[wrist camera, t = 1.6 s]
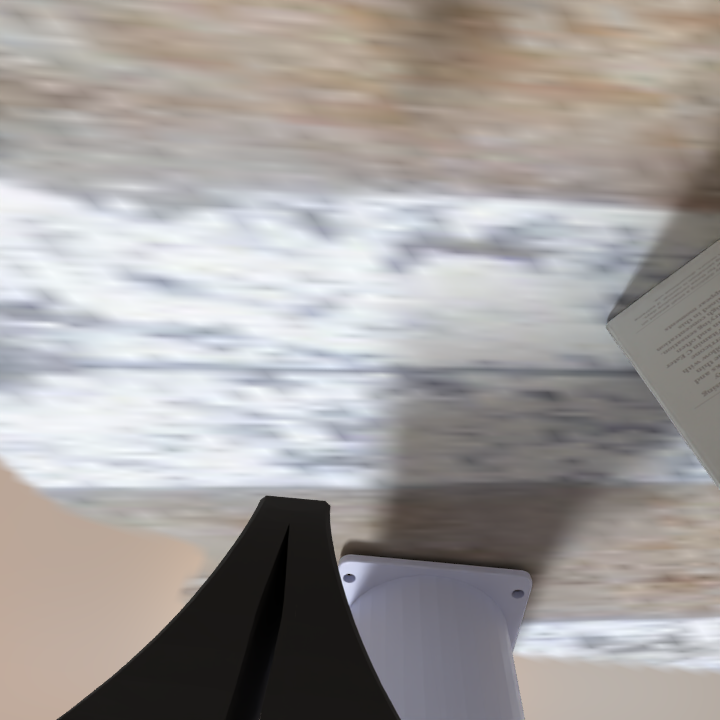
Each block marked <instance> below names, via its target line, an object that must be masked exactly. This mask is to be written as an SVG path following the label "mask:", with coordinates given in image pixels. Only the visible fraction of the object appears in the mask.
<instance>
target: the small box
mask: <svg viewBox="0 0 720 720" xmlns="http://www.w3.org/2000/svg"><path fill="white" fill-rule="evenodd" d="M606 328H607V330H608V331H609V333H610V334H611V336H612V337H613V339H614V340H615V342H616V343H617V344H618V346H619V347H620V348H621V350H622V351H623V353H624V354H625V355H626V357H627V358H628V359H629V361H630V362H631V364H632V365H633V367H634V368H635V369H636V371H637V372H638V374H639V375H640V377H641V378H642V379H643V381H644V382H645V384H646V385H647V386H648V388H649V389H650V391H651V392H652V394H653V395H654V396H655V398H656V399H657V401H658V402H659V404H660V405H661V407H662V408H663V409H664V411H665V412H666V414H667V415H668V417H669V418H670V420H671V421H672V423H673V424H674V426H675V427H676V429H677V430H678V432H679V433H680V435H681V436H682V438H683V439H684V441H685V442H686V443H687V445H688V446H689V448H690V449H691V450H692V452H693V453H694V455H695V456H696V457H697V459H698V460H699V462H700V463H701V465H702V466H703V467H704V469H705V470H706V472H707V473H708V474H709V476H710V477H711V479H712V480H713V482H714V483H715V484H716V486H717V487H718V489H719V490H720V239H719V240H718V241H717V242H715V243H714V244H713V245H711V246H710V247H709V248H707V249H706V250H705V251H703V252H702V253H701V254H699V255H698V256H697V257H695V258H694V259H692V260H691V261H690V262H688V263H687V264H686V265H684V266H683V267H682V268H680V269H679V270H677V271H676V272H675V273H673V274H672V275H671V276H669V277H668V278H666V279H665V280H663V281H662V282H661V283H659V284H658V285H657V286H656V287H654V288H653V289H652V290H650V291H649V292H647V293H646V294H645V295H643V296H642V297H641V298H639V299H638V300H637V301H635V302H634V303H633V304H632V305H630V306H629V307H628V308H626V309H625V310H624V311H622V312H621V313H620V314H618V315H617V316H616V317H614V318H613V319H612V320H610V321H609V322H608V323H607V325H606Z"/></svg>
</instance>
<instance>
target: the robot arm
mask: <svg viewBox="0 0 720 720" xmlns="http://www.w3.org/2000/svg"><path fill="white" fill-rule="evenodd" d="M346 574H353V575H351V576H349V575H346ZM531 588H532V579H531V576H530V574H529V573H528V572H526V571H523V570H514V569H503V568H492V567H482V566H471V565H460V564H450V563H439V562H428V561H417V560H407V559H396V558H385V557H375V556H364V555H353V554H349V555H345V556H343V557H341V558H340V560H339V565H337V561H336V557H335V552H334V547H333V541H332V535H331V527H330V505H329V504H328V503H327V502H326V501H318V500H308V499H297V498H286V497H276V496H265V497H264V498H262V499H261V500H260V502H259V504H258V506H257V508H256V510H255V512H254V514H253V515H252V517H251V519H250V520H249V522H248V524H247V525H246V527H245V528H244V530H243V531H242V533H241V534H240V536H239V537H238V539H237V540H236V542H235V543H234V545H233V546H232V547H231V549H230V550H229V551H228V553H227V554H226V556H225V557H224V558H223V560H222V561H221V562H220V564H219V565H218V567H217V568H216V569H215V570H214V572H213V573H212V574H211V575H210V577H209V578H208V579H207V580H206V581H205V583H204V584H203V585H202V586H201V588H200V589H199V590H198V591H197V592H196V594H195V595H194V596H193V597H192V598H191V600H190V601H189V602H188V603H187V604H186V605H185V606H184V607H183V609H182V610H181V611H180V612H179V613H178V614H177V615H176V616H175V617H174V618H173V619H172V620H171V622H169V624H168V625H167V626H166V627H165V628H164V629H163V630H162V631H161V632H160V633H159V634H158V635H157V636H156V637H155V638H154V639H153V640H152V641H150V642H149V643H148V644H147V645H146V646H145V647H144V648H143V649H142V650H141V651H140V652H139V653H138V654H137V655H136V656H134V657H133V658H132V659H131V660H130V661H129V662H128V663H127V664H126V665H125V666H123V667H122V668H121V669H120V670H119V671H118V672H117V673H115V674H114V675H113V676H112V677H111V678H109V679H108V680H107V681H106V682H104V683H103V684H102V685H101V686H99V687H98V688H97V689H96V690H94V691H93V692H92V693H91V694H89V695H88V696H87V697H86V698H84V699H83V700H82V701H81V702H79V703H78V704H77V705H76V706H74V707H73V708H72V709H71V710H69V711H68V712H66V713H65V714H64V715H62V716H61V717H60V718H58V719H57V720H525V717H524V712H523V707H522V702H521V696H520V691H519V686H518V681H517V675H516V670H515V665H514V659H513V654H512V653H513V649H514V646H515V643H516V639H517V636H518V632H519V629H520V626H521V622H522V619H523V616H524V612H525V609H526V605H527V602H528V599H529V595H530V592H531ZM515 590H519V591H515Z"/></svg>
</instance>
